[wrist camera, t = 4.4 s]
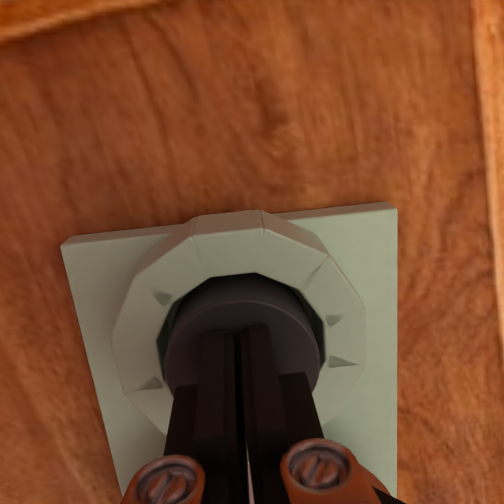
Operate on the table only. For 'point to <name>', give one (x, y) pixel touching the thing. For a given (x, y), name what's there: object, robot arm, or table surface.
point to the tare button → (241, 326)
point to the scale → (239, 262)
